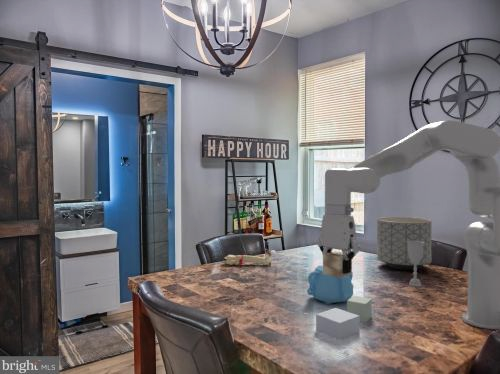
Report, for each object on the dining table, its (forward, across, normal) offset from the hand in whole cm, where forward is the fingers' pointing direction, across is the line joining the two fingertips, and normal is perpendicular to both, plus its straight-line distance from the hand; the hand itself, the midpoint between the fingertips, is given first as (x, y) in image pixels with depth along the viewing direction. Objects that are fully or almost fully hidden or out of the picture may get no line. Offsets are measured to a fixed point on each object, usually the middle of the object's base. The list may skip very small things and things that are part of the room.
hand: (337, 270), depth 118 cm
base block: (+18, 0, 0) cm, 18 cm away
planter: (+18, +28, -89) cm, 95 cm away
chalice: (+18, +9, -64) cm, 67 cm away
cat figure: (+19, +84, -35) cm, 93 cm away
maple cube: (+1, 0, 0) cm, 1 cm away
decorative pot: (+18, +20, -22) cm, 35 cm away
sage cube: (+18, +2, -14) cm, 23 cm away
